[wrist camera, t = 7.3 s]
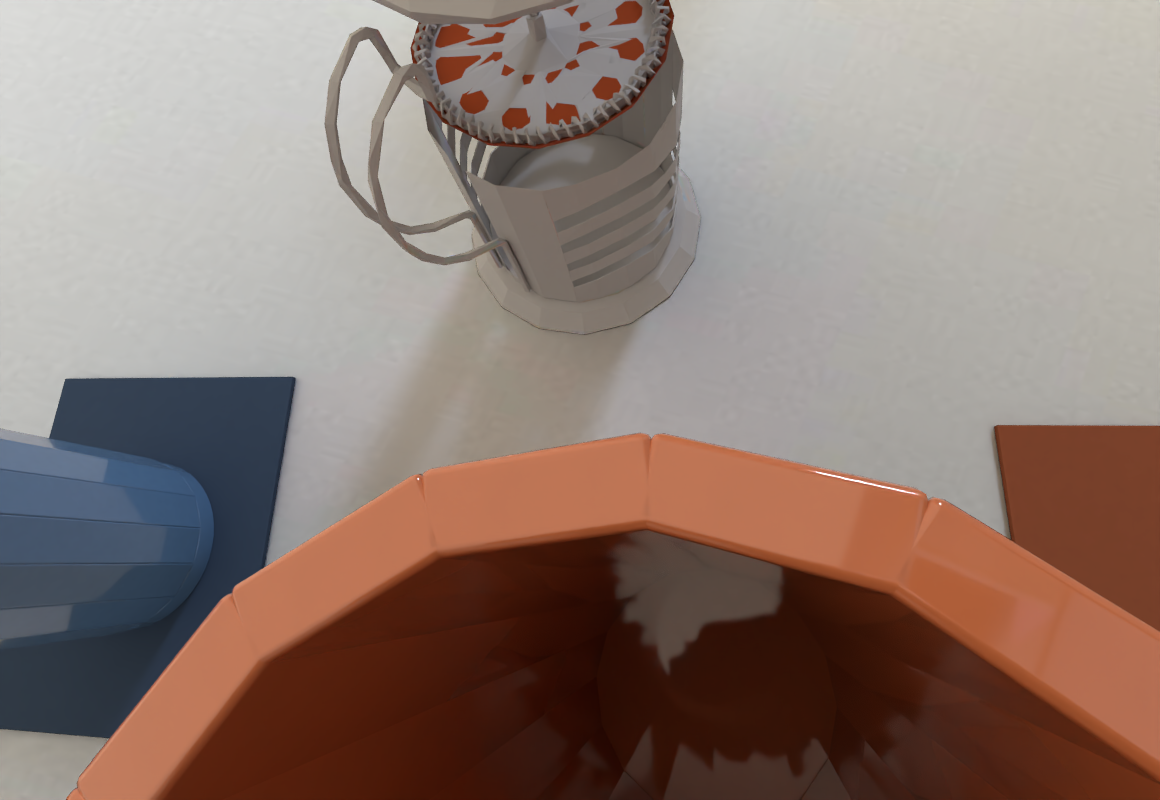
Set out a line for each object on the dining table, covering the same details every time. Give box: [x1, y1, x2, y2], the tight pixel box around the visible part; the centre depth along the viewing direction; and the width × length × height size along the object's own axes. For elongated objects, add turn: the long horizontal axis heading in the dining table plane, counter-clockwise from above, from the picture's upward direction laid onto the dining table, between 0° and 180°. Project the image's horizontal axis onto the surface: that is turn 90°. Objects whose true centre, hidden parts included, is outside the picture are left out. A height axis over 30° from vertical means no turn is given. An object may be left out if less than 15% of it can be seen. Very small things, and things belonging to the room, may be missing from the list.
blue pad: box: [0, 377, 295, 738], centre depth 24 cm, size 14×11×1 cm
